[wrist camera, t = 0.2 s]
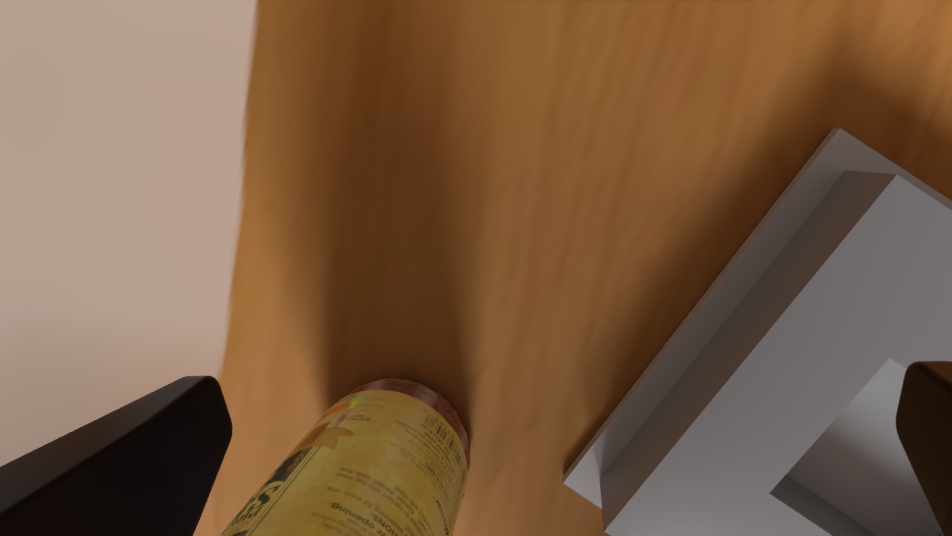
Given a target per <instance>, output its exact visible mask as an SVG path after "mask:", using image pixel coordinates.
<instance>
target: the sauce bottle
mask: <svg viewBox="0 0 952 536" xmlns="http://www.w3.org/2000/svg"><path fill="white" fill-rule="evenodd" d="M469 466H470V446H469V441H468V437H467V433H466V431H465V430H464V427H463V425H462V423H461V420H460V418H459V415H458V414H457V413H456V411H455V409H454V408H453V407H452V405H451V404H450V403H449V402H448V401H447V400H445V399H444V398H443V397H442V396H441V395H440V394H439V393H438V392H436V391H434V390H431V389H430V388H429V387H427V386H425V385H423V384H422V383H416V382H413V381H411V380H408V379H401V378H383V379H378V380H375V381H371V382H369V383H367V384H363V385H360V386H358V387H356V388H355V389H354V390H352V391H351V392H350V393H348V394H347V395H346V396H345V397H344V398H342V399H341V400H339V401H338V402H337V403H335V404H334V405H333V406H332V407H330V408H329V409H328V410H327V411H326V413H325V414H324V415H323V416H322V417H321V418H320V420H319V421H318V422H317V423H316V424H315V425H314V426H313V428H312V429H311V430H310V431H309V432H308V434H307V435H306V436H305V437H304V438H303V439H302V440H301V442H300V443H299V444H298V445H297V446H296V447H295V449H294V450H293V451H292V452H291V453H290V454H289V456H288V457H287V458H286V459H285V460H284V461H283V463H282V464H281V465H280V466H279V467H278V468H277V469H276V470H275V471H274V472H273V473H272V474H271V475H270V477H269V478H268V479H267V481H266V482H265V483H264V485H263V486H262V487H261V488H260V490H259V491H258V492H257V493H256V494H255V495H254V496H253V497H252V498H251V499H250V500H249V502H248V503H247V504H246V506H245V507H244V508H243V509H242V510H241V511H240V512H239V513H238V515H237V516H236V517H235V518H234V519H233V520H232V521H231V522H230V523H229V525H228V526H227V527H226V529H225V530H224V531H223V533H222V534H221V535H220V536H452V533H453V530H454V526H455V523H456V519H457V515H458V512H459V509H460V506H461V503H462V499H463V496H464V490H465V486H466V482H467V473H468V471H469Z"/></svg>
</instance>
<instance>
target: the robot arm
mask: <svg viewBox="0 0 952 536" xmlns="http://www.w3.org/2000/svg"><path fill="white" fill-rule="evenodd" d="M896 430H897V434H898V437H899V440H900V442H901V444H902V446H903V449H904V451H905V453H906V455H907V457H908V460H909V462H910V464H911V466H912V469H913V471H914V473H915V475H916V477H917V480H918V482H919V484H920V486H921V489H922V491H923V493H924V495H925V497H926V500H927V502H928V504H929V506H930V509H931V511H932V513H933V515H934V517H935V520H936V522H937V524H938V526H939V529H940V531H941V533H942V535H943V536H952V362H951V361H917V362H914V363H912V364H910V365H909V366H908V368H907V369H906V372H905V375H904V380H903V385H902V389H901V394H900V399H899V404H898V408H897V413H896ZM231 437H232V422H231V418H230V415H229V412H228V409H227V406H226V403H225V400H224V397H223V393H222V390H221V387H220V385H219V382H218V381H217V380H216V379H215V378H214V377H212V376H186V377H183V378H180V379H178V380H176V381H174V382H172V383H170V384H168V385H166V386H164V387H162V388H160V389H158V390H156V391H154V392H152V393H150V394H148V395H146V396H144V397H142V398H140V399H138V400H135V401H133V402H131V403H129V404H127V405H125V406H123V407H121V408H120V409H117V410H115V411H113V412H111V413H109V414H107V415H105V416H103V417H101V418H99V419H97V420H95V421H93V422H91V423H89V424H87V425H84V426H82V427H80V428H78V429H76V430H74V431H73V432H70V433H68V434H66V435H64V436H62V437H60V438H58V439H56V440H54V441H52V442H50V443H48V444H46V445H44V446H42V447H40V448H38V449H36V450H34V451H32V452H30V453H27V454H25V455H23V456H21V457H20V458H17V459H15V460H13V461H11V462H9V463H7V464H5V465H3V466H1V467H0V536H193V534H194V531H195V529H196V527H197V525H198V522H199V520H200V517H201V515H202V512H203V509H204V507H205V505H206V502H207V499H208V497H209V494H210V492H211V489H212V487H213V484H214V482H215V479H216V477H217V474H218V471H219V469H220V466H221V464H222V461H223V459H224V456H225V454H226V451H227V449H228V446H229V444H230V441H231Z"/></svg>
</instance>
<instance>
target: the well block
mask: <svg viewBox="0 0 952 536" xmlns="http://www.w3.org/2000/svg"><path fill="white" fill-rule="evenodd" d="M917 361H951V362H952V201H951V200H950V199H948V198H947V197H945V196H944V195H942V194H941V193H939V192H938V191H936V190H935V189H933V188H931V187H930V186H928V185H927V184H925V183H924V182H922V181H921V180H919V179H918V178H916V177H915V176H913V175H912V174H910V173H909V172H907V171H905V170H904V169H902V168H901V167H899V166H898V165H896V164H895V163H893V162H892V161H890V160H889V159H887V158H886V157H884V156H883V155H881V154H879V153H878V152H876V151H875V150H873V149H872V148H870V147H869V146H867V145H866V144H864V143H863V142H861V141H860V140H858V139H857V138H855V137H853V136H852V135H850V134H849V133H847V132H846V131H844V130H843V129H841V128H832V130H831V131H830V132H829V134H828V135H827V136H826V137H825V139H824V140H823V141H822V143H821V144H820V145H819V146H818V148H817V149H816V150H815V152H814V153H813V154H812V156H811V157H810V158H809V159H808V161H807V162H806V163H805V165H804V166H803V167H802V168H801V170H800V171H799V172H798V174H797V175H796V176H795V177H794V179H793V180H792V181H791V183H790V184H789V185H788V186H787V188H786V189H785V190H784V192H783V193H782V194H781V195H780V197H779V198H778V199H777V201H776V202H775V203H774V204H773V206H772V207H771V208H770V210H769V211H768V212H767V213H766V215H765V216H764V217H763V219H762V220H761V221H760V222H759V224H758V225H757V226H756V228H755V229H754V230H753V232H752V233H751V234H750V235H749V237H748V238H747V239H746V241H745V242H744V243H743V244H742V246H741V247H740V248H739V250H738V251H737V252H736V253H735V255H734V256H733V257H732V259H731V260H730V261H729V262H728V264H727V265H726V266H725V268H724V269H723V270H722V271H721V273H720V274H719V275H718V277H717V278H716V279H715V280H714V282H713V283H712V284H711V286H710V287H709V288H708V289H707V291H706V292H705V293H704V295H703V296H702V297H701V298H700V300H699V301H698V302H697V304H696V305H695V306H694V308H693V309H692V310H691V311H690V313H689V314H688V315H687V317H686V318H685V319H684V320H683V322H682V323H681V324H680V326H679V327H678V328H677V329H676V331H675V332H674V333H673V335H672V336H671V337H670V338H669V340H668V341H667V342H666V344H665V345H664V346H663V347H662V349H661V350H660V351H659V353H658V354H657V355H656V356H655V358H654V359H653V360H652V362H651V363H650V364H649V365H648V367H647V368H646V369H645V371H644V372H643V373H642V374H641V376H640V377H639V378H638V380H637V381H636V382H635V384H634V385H633V386H632V387H631V389H630V390H629V391H628V393H627V394H626V395H625V396H624V398H623V399H622V400H621V402H620V403H619V404H618V405H617V407H616V408H615V409H614V411H613V412H612V413H611V414H610V416H609V417H608V418H607V420H606V421H605V422H604V423H603V425H602V426H601V427H600V429H599V430H598V431H597V432H596V434H595V435H594V436H593V438H592V439H591V440H590V441H589V443H588V444H587V445H586V447H585V448H584V449H583V450H582V452H581V453H580V454H579V456H578V457H577V458H576V460H575V461H574V462H573V463H572V465H571V466H570V467H569V469H568V470H567V471H566V472H565V474H564V475H563V484H565V485H566V486H568V487H569V488H571V489H572V490H574V491H575V492H577V493H578V494H580V495H581V496H583V497H584V498H586V499H587V500H589V501H590V502H592V503H593V504H595V505H596V506H598V507H599V508H601V509H602V513H603V524H604V532H606V533H607V534H609V535H610V536H943V535H942V533H941V531H940V529H939V526H938V524H937V522H936V520H935V517H934V515H933V513H932V511H931V509H930V506H929V504H928V502H927V500H926V497H925V495H924V493H923V491H922V489H921V486H920V484H919V482H918V480H917V477H916V475H915V473H914V471H913V469H912V466H911V464H910V462H909V460H908V457H907V455H906V453H905V451H904V449H903V446H902V444H901V442H900V440H899V437H898V434H897V430H896V413H897V408H898V404H899V399H900V394H901V389H902V385H903V380H904V375H905V372H906V369H907V368H908V366H909V365H910V364H912V363H914V362H917Z"/></svg>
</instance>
